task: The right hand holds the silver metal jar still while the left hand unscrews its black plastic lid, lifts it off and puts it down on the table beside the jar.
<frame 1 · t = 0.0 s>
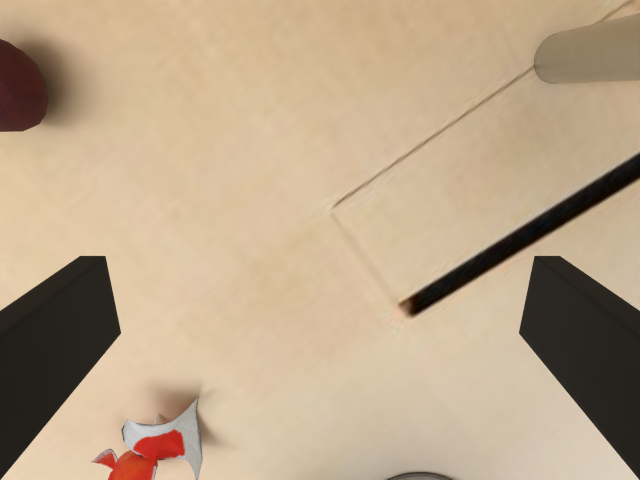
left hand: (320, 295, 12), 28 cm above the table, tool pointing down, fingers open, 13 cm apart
fish: (164, 422, 50), on the table
jar: (557, 58, 36), on the table
dark red ball: (25, 87, 36), on the table
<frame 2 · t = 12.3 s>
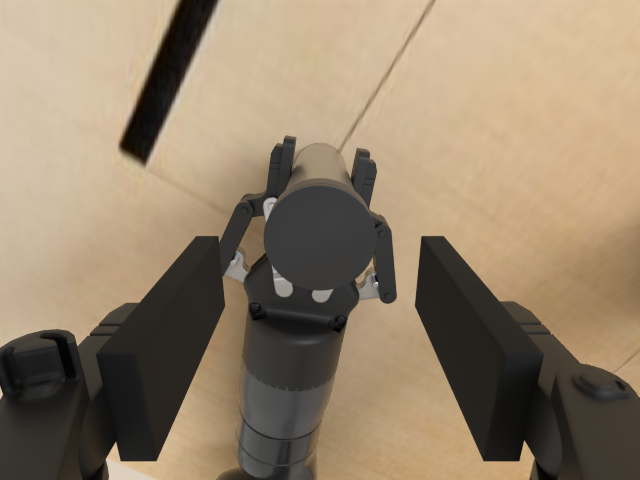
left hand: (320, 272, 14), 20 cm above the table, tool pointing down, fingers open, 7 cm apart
jar: (319, 168, 33), on the table, touching right hand
lid: (319, 238, 17), point 17 cm above the table, screwed on, not yet turned
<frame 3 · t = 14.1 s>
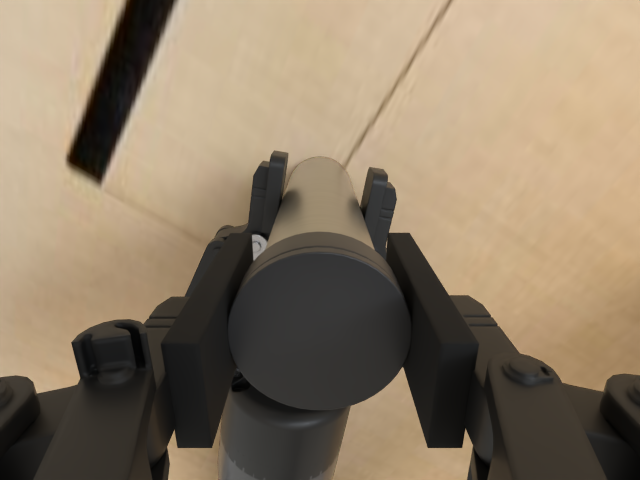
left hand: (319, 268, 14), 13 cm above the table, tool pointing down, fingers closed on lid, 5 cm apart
jar: (319, 188, 26), on the table, touching right hand
lid: (319, 330, 11), point 17 cm above the table, screwed on, not yet turned, touching left hand
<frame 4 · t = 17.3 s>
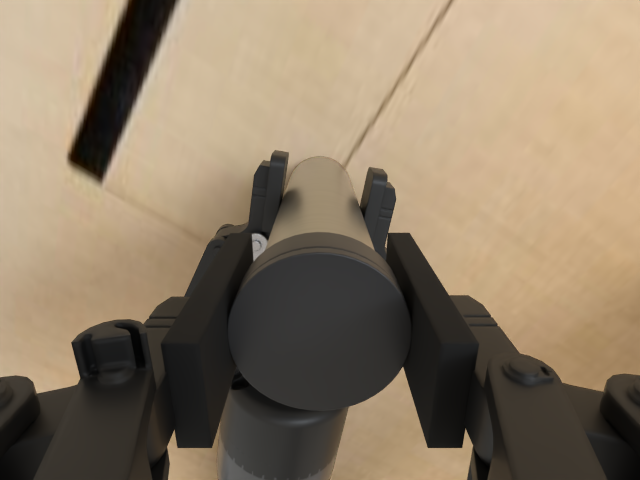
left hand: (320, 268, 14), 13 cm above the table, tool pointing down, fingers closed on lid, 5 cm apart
jar: (319, 187, 26), on the table, touching right hand
lid: (319, 330, 11), point 17 cm above the table, turned 106° so far, risen 0.2 cm, still on its thread, touching left hand
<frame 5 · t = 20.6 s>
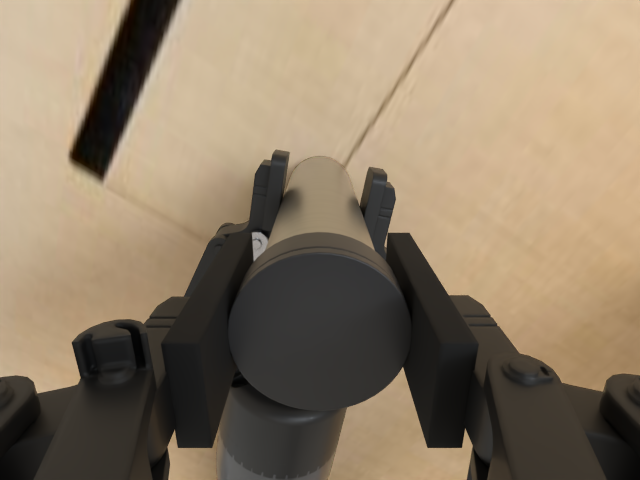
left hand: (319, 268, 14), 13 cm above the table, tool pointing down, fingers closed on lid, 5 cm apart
jar: (319, 187, 27), on the table, touching right hand
lid: (319, 330, 11), point 17 cm above the table, turned 211° so far, risen 0.3 cm, still on its thread, touching left hand
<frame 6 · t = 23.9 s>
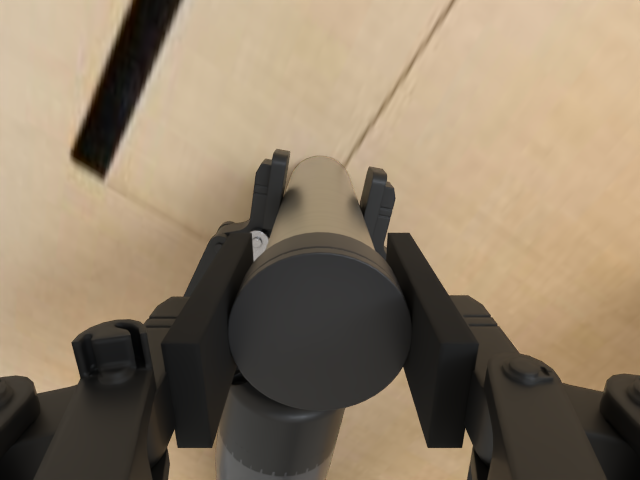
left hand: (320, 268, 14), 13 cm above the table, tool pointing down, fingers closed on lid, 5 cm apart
jar: (319, 186, 27), on the table, touching right hand
lid: (320, 330, 11), point 17 cm above the table, turned 317° so far, risen 0.5 cm, still on its thread, touching left hand
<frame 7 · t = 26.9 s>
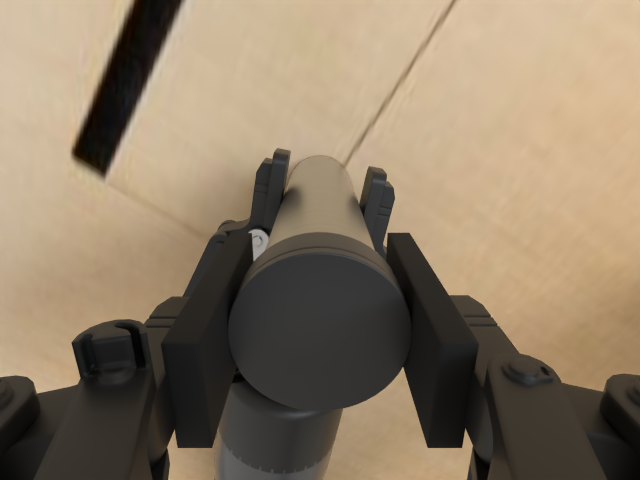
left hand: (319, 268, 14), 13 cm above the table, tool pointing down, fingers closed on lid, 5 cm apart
jar: (319, 186, 27), on the table, touching right hand
lid: (319, 330, 11), point 17 cm above the table, turned 422° so far, risen 0.6 cm, still on its thread, touching left hand
when the left hand's fingers open (0 cm above the table, at t = 34.1 s): lid drops 3 cm, point 1 cm above the table.
when the right hand's fingers open (7 cm above the table, at t = 35.3 s): jar stays where it is, on the table.
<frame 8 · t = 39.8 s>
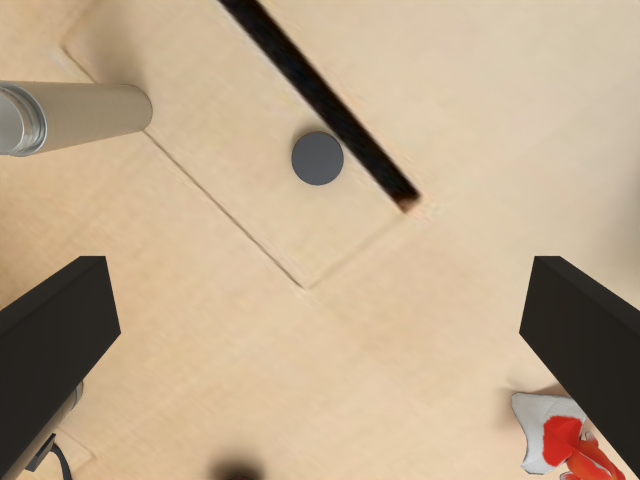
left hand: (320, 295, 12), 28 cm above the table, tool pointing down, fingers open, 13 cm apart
fish: (546, 419, 50), on the table
jar: (129, 108, 37), on the table
lid: (317, 159, 37), point 1 cm above the table, off its thread
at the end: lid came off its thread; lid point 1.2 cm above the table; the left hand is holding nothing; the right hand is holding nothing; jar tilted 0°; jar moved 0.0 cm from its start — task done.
